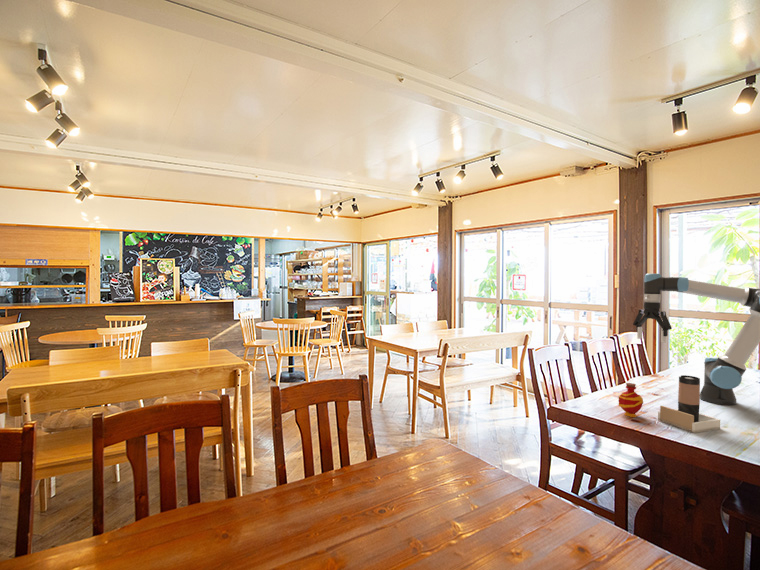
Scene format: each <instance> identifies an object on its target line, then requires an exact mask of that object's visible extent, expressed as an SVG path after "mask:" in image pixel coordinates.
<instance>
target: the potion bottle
mask: <svg viewBox="0 0 760 570" xmlns="http://www.w3.org/2000/svg"><path fill="white" fill-rule="evenodd" d="M625 385H626V386H625V389H627V391H623V392H622V393H620V395H619V396H618V407H620V408H621V409H622V410H623V411H624V412H625V413H624V414H623V415H624V416H625V417H626V416H627V417H629V416H630V418H637V417H638V416H637V413H638V412H639V411H640V410H641V409H642V407H643V404H644V400H643V397H642V396H641V394H638V393H637V392H636V391H635V390H636V389H637V387H636V385H637V384H635V383H632V382H626V383H625Z"/></svg>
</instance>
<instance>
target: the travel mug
mask: <svg viewBox="0 0 760 570" xmlns="http://www.w3.org/2000/svg"><path fill="white" fill-rule="evenodd" d="M677 393H678V395H677V397H678V398H677V403H678V404H677V409H678V411H681V412H684V413H687V414H690V415H694V423H695V422H698V421H699V413H700V401H701V399H700V393H701V378H699V377H697V376H693V375H687V374H686V375H680V376H678V392H677Z"/></svg>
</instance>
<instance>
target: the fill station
mask: <svg viewBox="0 0 760 570" xmlns="http://www.w3.org/2000/svg"><path fill="white" fill-rule="evenodd" d="M657 421H659V422H661V423H665V424H668V425H670V426H673V427H677V428H680V429H682V430H684V431H685V430H686V431H687V432H691V433H693V434H697V433H704V432H709V431H714V430H716V431H717V430H720V429H721V419H719V418H716V417H712V416H709V415H705V414H702V413H700V412H699V421H698V422H695V423H694V415H690V414H687V413H684V412H681V411H678V408H670V407H667V406H664V405H660V407H659V411H657Z"/></svg>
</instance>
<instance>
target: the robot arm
mask: <svg viewBox="0 0 760 570" xmlns="http://www.w3.org/2000/svg"><path fill="white" fill-rule="evenodd" d="M643 281H644V282H643V283H644V284H643V309H638V313H637V315H636V317H635V319H634V321H633V323H632V325H633V326H635V328H636V330H635V331H636V333H637V336H636V337H637V338H636V339H637V340H639V339H640V340H641V339H643V325H644V324H645V323H646V321H647V320H649V319H650V320H651V319H652V320H655V321H656V322H657V323H658V325H659V326H660V327H661V330H660V333H661V334H660V343H667V337H668V333H669V330H672V328H673V327H672V326H671V323H670V321H669V319H668V317H667V312H666V311H665V310H664V311H661V310H660V309H661V297H662V296H661V294H662V292H677V293H683V294H687V295H688V294H689V295H695V296H700V297H705V298H709V299H710V298H711V299H716V300H721V301H728V302H733V303H737V304H740V305H741V306H743V307H749V310H748V311H749V312H750V315H749V317H748V319H747V320H746V321H745V323H744V324H743V325H742V327H741V328H740V331H739V332H738V334H737V335H736V337H735V338H734V340H733V341H732V342H731V344H730V346H729V348H728V349H727V350H726V352H725V354H723V355H721V356H718V357H705V358H704V362H703V363H704V380H703V386H702V389H700V400H702V401H704V402H706V403H707V402H709V403H710V404H711V403H712V404H718V405H724V406H726V405H727V406H735V405H736V404H737V398H736V395H735V393H734V390H733V389H735V388H737V387H739V386H740V385H741V383H742V381H743V380H742V378H743V375H744V373H745V372H746V371H747V367H746V363H747V362H748V360H749V359H750V357H751V356H752V355H753V352H755V350H756V348H757V347H758V345H759V344H760V288H754V287H753V288H752V287H746V288H741V287H740V288H739V287H734V286H728V285H722V284H715V283H709V282H704V281H697V280H693V279H692V280H691V279H689V278H688V277H685V276H684V277H682V276H680V277H677V276H676V277H675V276H671V277H670V276H669V277H666V276H665V277H663V276H662V274H661V273H645V275H644V280H643Z"/></svg>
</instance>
